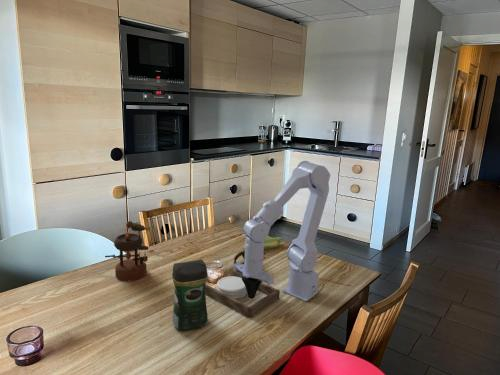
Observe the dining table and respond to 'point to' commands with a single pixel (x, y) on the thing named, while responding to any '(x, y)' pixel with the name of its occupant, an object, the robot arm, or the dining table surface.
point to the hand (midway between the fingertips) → (251, 297)
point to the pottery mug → (239, 256)
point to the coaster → (232, 287)
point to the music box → (130, 242)
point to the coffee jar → (189, 295)
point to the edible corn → (271, 242)
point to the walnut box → (241, 307)
